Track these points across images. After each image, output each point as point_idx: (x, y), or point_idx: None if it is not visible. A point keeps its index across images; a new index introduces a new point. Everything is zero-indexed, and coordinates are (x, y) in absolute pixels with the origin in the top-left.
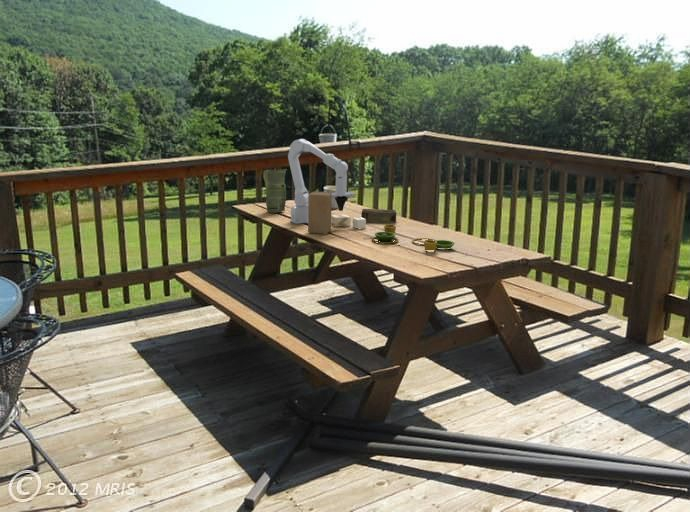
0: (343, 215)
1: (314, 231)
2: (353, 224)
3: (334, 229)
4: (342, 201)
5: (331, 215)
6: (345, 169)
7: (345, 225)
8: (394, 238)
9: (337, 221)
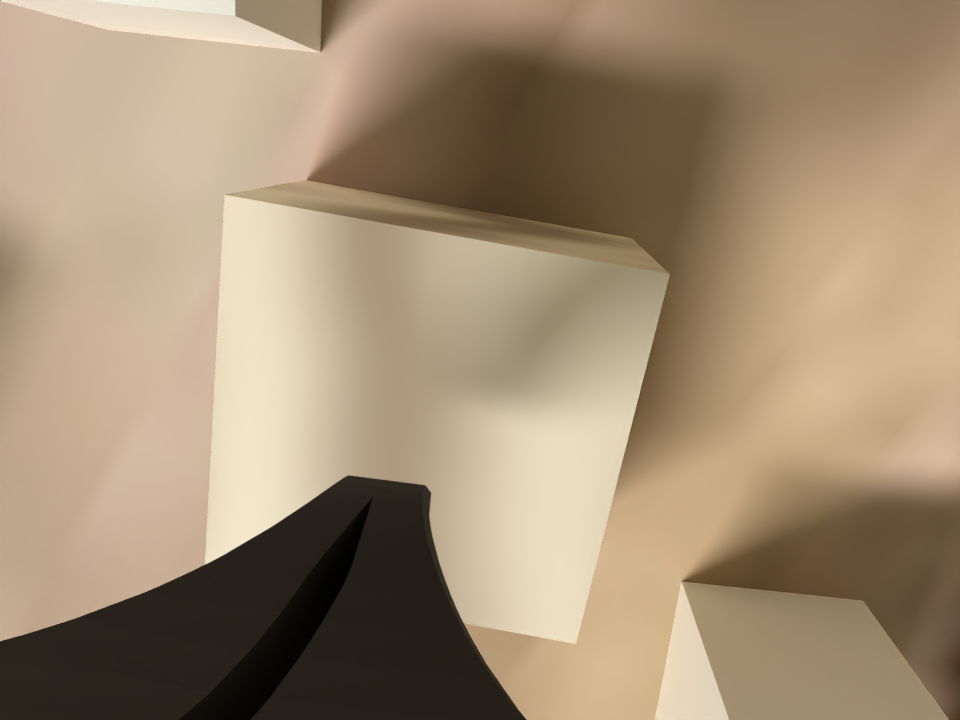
0: (306, 473)
1: None
2: (299, 2)
3: (843, 28)
4: (243, 716)
5: (582, 614)
6: None
7: (422, 204)
8: None
9: (632, 254)
